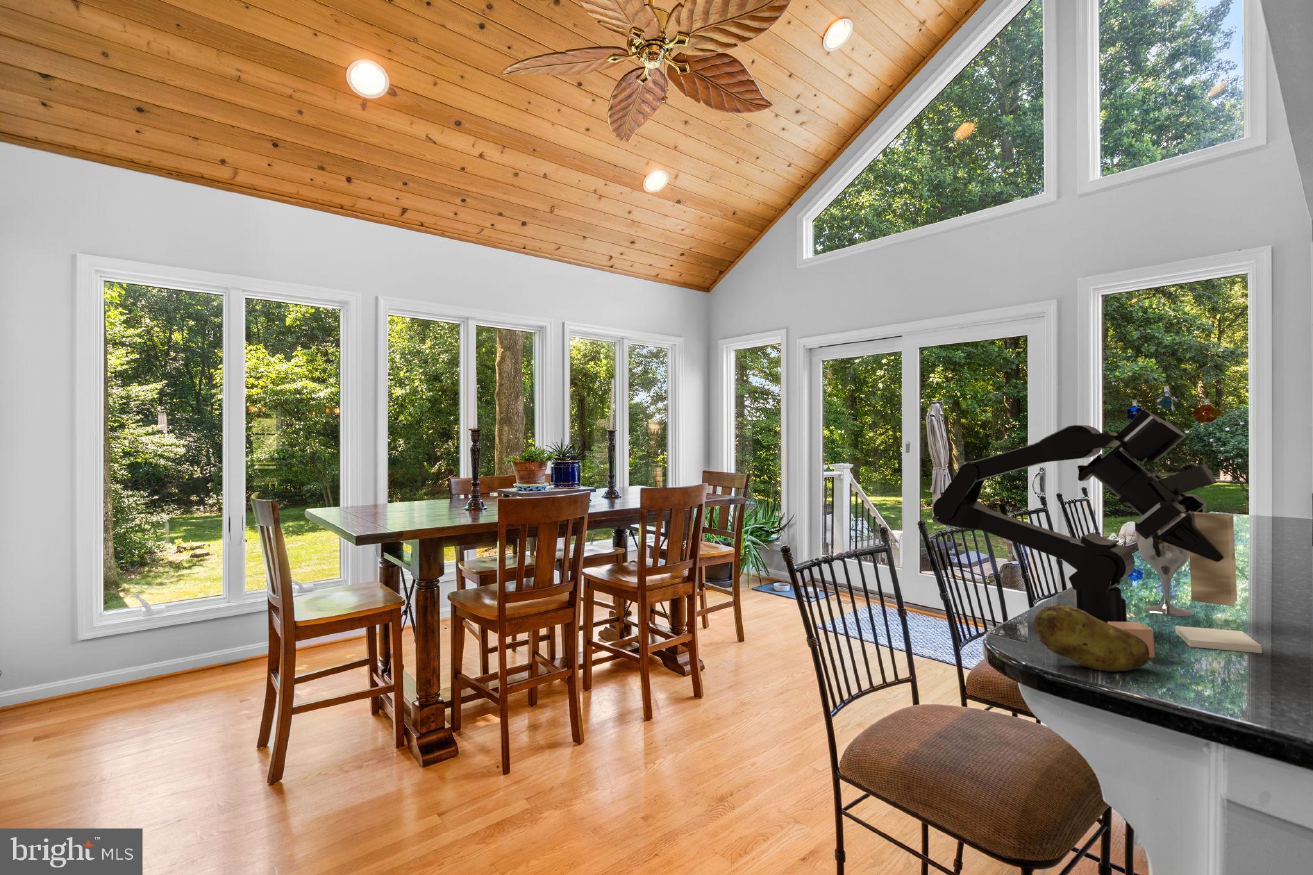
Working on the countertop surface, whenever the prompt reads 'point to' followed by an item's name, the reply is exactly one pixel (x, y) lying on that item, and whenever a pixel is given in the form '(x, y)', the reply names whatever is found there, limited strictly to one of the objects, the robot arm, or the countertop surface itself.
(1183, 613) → the wine glass
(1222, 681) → the countertop surface
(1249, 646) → the stone tile
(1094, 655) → the potato
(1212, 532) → the beech block
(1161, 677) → the countertop surface
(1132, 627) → the terracotta cube
